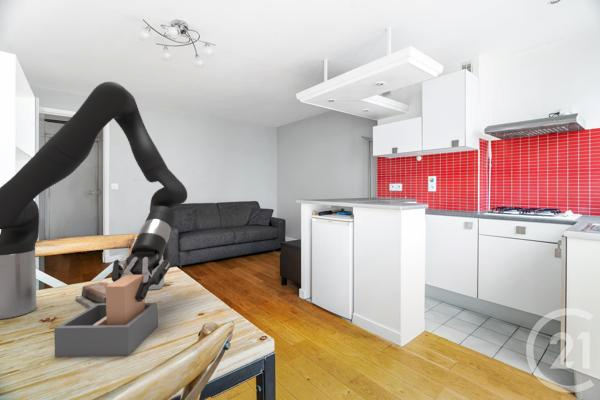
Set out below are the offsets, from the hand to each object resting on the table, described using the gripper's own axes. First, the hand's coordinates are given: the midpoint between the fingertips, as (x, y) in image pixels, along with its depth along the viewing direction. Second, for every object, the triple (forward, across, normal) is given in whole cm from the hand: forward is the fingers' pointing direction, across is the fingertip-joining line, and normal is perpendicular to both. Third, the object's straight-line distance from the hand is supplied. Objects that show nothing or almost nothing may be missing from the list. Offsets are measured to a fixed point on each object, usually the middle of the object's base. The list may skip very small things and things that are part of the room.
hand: (127, 300), depth 66 cm
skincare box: (-18, -12, +32) cm, 39 cm away
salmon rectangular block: (+5, 0, +5) cm, 7 cm away
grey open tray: (+7, -4, +6) cm, 10 cm away
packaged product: (-9, -20, +23) cm, 32 cm away
